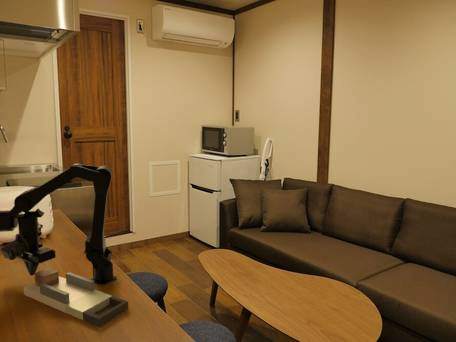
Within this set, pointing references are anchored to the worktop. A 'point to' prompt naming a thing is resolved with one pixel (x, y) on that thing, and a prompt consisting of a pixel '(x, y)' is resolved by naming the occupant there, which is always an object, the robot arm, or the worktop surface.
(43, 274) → the walnut block
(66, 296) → the lane walls
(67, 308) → the deck
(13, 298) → the worktop surface
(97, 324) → the tray
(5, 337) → the worktop surface
